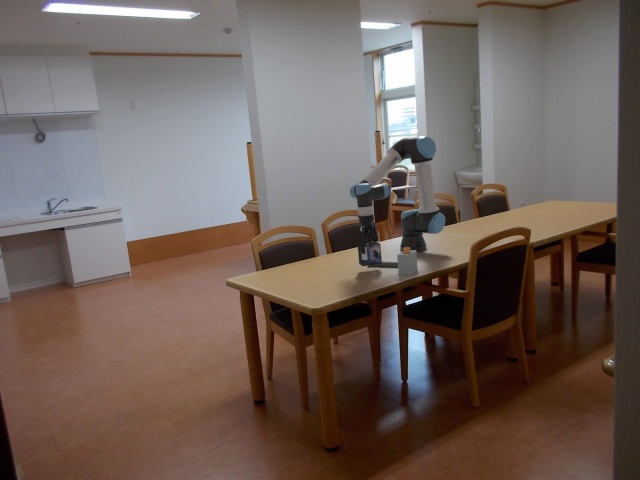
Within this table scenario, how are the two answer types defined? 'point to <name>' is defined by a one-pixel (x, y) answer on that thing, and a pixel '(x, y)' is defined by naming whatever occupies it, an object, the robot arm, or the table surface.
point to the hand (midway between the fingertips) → (370, 256)
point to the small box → (371, 254)
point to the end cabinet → (407, 263)
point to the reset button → (406, 250)
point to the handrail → (386, 264)
